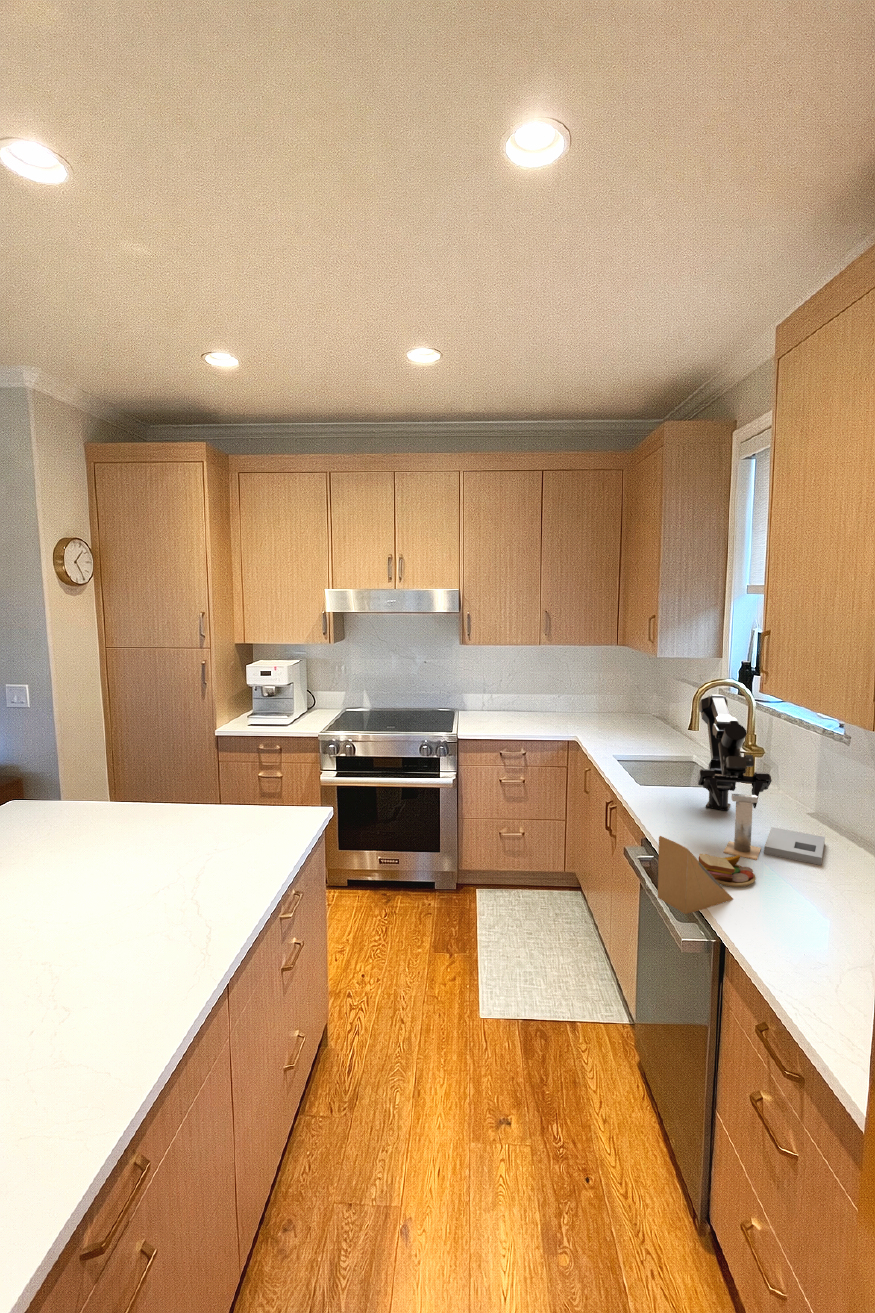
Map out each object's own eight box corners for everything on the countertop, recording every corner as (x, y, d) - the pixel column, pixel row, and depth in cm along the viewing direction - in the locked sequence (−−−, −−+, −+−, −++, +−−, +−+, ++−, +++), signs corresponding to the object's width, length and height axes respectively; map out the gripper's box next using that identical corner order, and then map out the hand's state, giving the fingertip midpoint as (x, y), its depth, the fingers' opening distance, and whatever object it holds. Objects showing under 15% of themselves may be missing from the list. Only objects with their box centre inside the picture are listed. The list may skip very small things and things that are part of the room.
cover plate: (771, 833, 176) (771, 827, 176) (824, 843, 168) (824, 836, 168) (763, 853, 163) (764, 846, 163) (821, 865, 155) (821, 857, 155)
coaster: (728, 842, 170) (728, 841, 170) (761, 849, 165) (761, 847, 165) (723, 852, 163) (723, 851, 163) (756, 859, 159) (756, 858, 159)
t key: (728, 845, 167) (730, 792, 166) (752, 847, 166) (755, 794, 164) (731, 851, 163) (733, 797, 162) (756, 853, 162) (758, 798, 160)
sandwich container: (735, 900, 139) (738, 836, 137) (686, 915, 133) (688, 849, 131) (705, 883, 147) (707, 823, 145) (656, 897, 140) (658, 835, 139)
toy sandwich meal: (761, 892, 143) (762, 872, 142) (699, 885, 146) (700, 867, 146) (748, 868, 155) (749, 850, 154) (691, 863, 158) (692, 845, 158)
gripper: (700, 742, 177) (705, 791, 168) (771, 745, 172) (780, 796, 163) (695, 760, 186) (699, 808, 176) (762, 764, 181) (771, 813, 172)
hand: (737, 806), depth 172 cm, fingers open, 9 cm apart
